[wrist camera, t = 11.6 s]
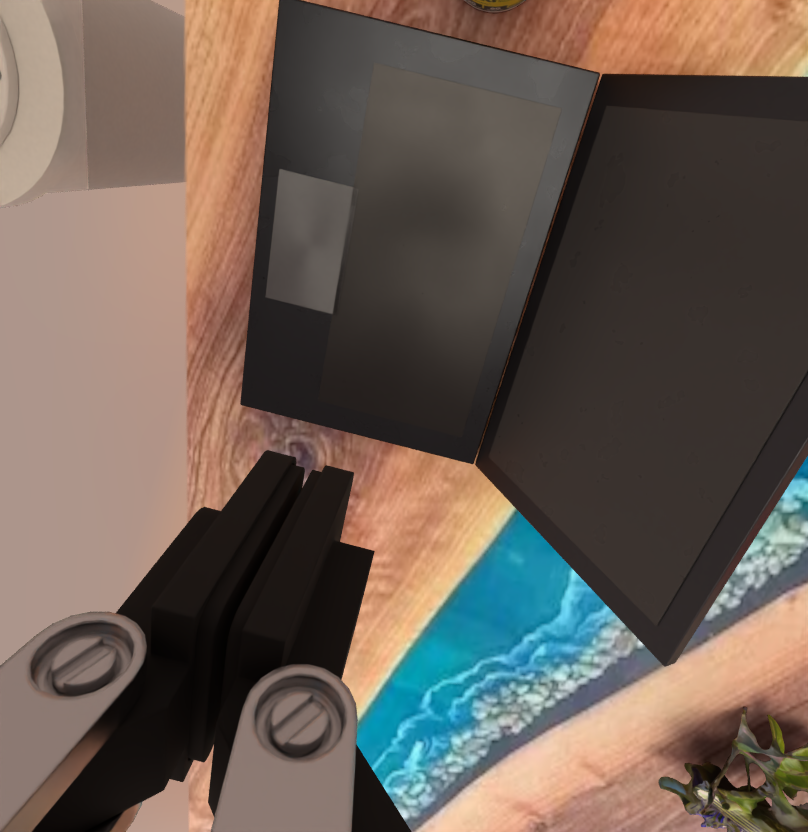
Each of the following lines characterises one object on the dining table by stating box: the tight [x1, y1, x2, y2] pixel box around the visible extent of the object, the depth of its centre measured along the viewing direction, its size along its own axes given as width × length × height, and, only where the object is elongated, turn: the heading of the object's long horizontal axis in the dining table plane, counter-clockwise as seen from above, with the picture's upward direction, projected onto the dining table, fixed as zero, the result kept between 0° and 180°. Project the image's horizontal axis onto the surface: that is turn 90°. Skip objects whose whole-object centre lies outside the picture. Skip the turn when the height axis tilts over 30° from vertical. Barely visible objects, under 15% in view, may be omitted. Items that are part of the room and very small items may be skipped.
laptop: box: [241, 0, 600, 464], centre depth 34 cm, size 17×24×2 cm
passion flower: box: [659, 707, 808, 832], centre depth 45 cm, size 11×11×12 cm
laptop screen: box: [475, 74, 808, 666], centre depth 27 cm, size 17×24×1 cm
